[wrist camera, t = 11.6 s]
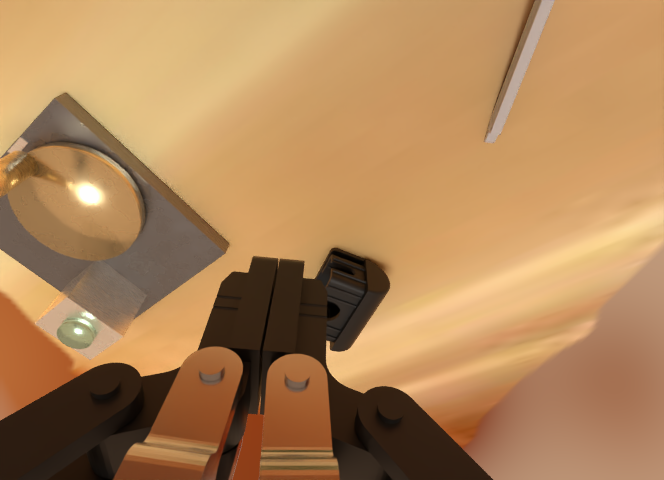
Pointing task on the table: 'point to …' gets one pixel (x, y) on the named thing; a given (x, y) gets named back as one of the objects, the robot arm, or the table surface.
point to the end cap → (350, 295)
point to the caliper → (518, 67)
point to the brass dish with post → (73, 199)
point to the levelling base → (118, 272)
